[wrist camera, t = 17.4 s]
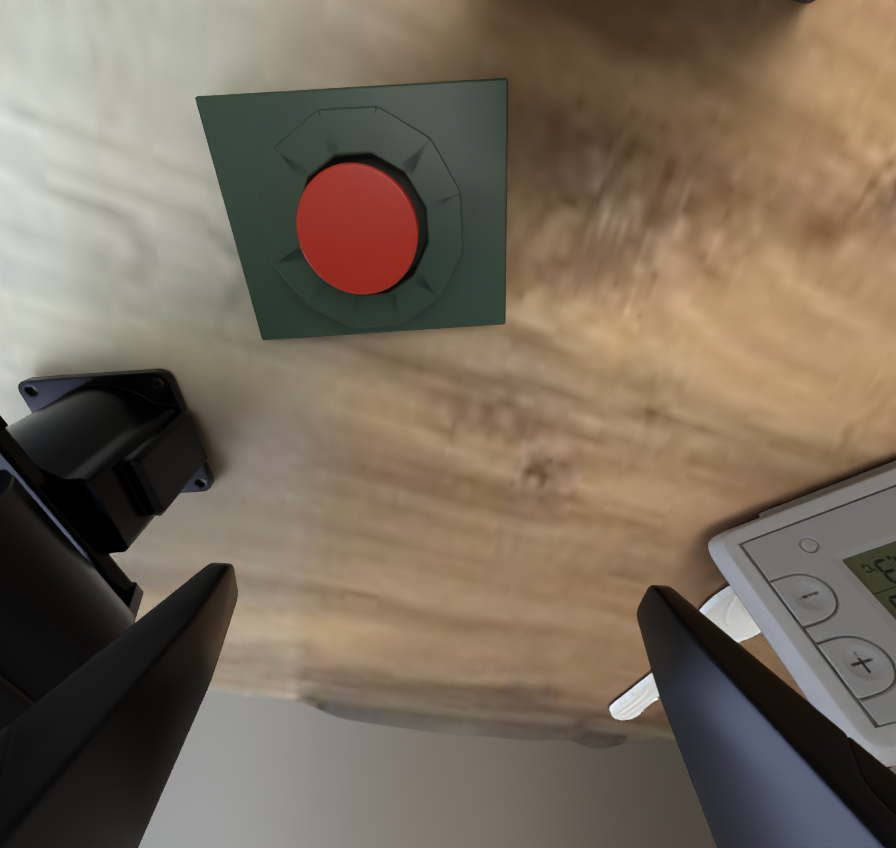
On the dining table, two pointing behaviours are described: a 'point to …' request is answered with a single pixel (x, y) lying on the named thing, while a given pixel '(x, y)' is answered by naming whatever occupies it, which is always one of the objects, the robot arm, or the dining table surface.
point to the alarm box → (388, 149)
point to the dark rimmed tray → (805, 1)
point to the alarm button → (357, 228)
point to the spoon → (720, 611)
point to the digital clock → (828, 598)
